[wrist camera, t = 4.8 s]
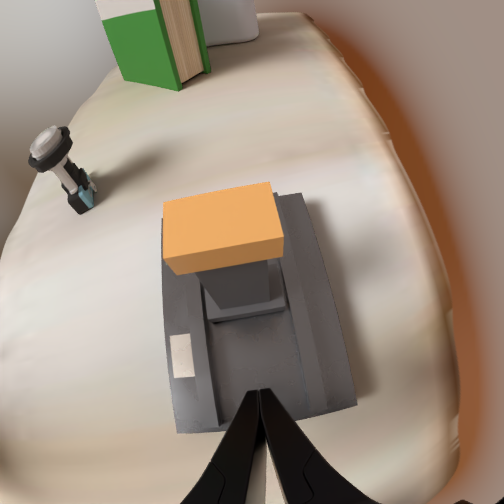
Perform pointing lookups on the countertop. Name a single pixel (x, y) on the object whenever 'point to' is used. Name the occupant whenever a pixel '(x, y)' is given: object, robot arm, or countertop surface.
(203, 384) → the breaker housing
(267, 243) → the lever
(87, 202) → the push button
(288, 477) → the robot arm
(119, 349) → the countertop surface
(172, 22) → the hardback book
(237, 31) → the plastic bottle
